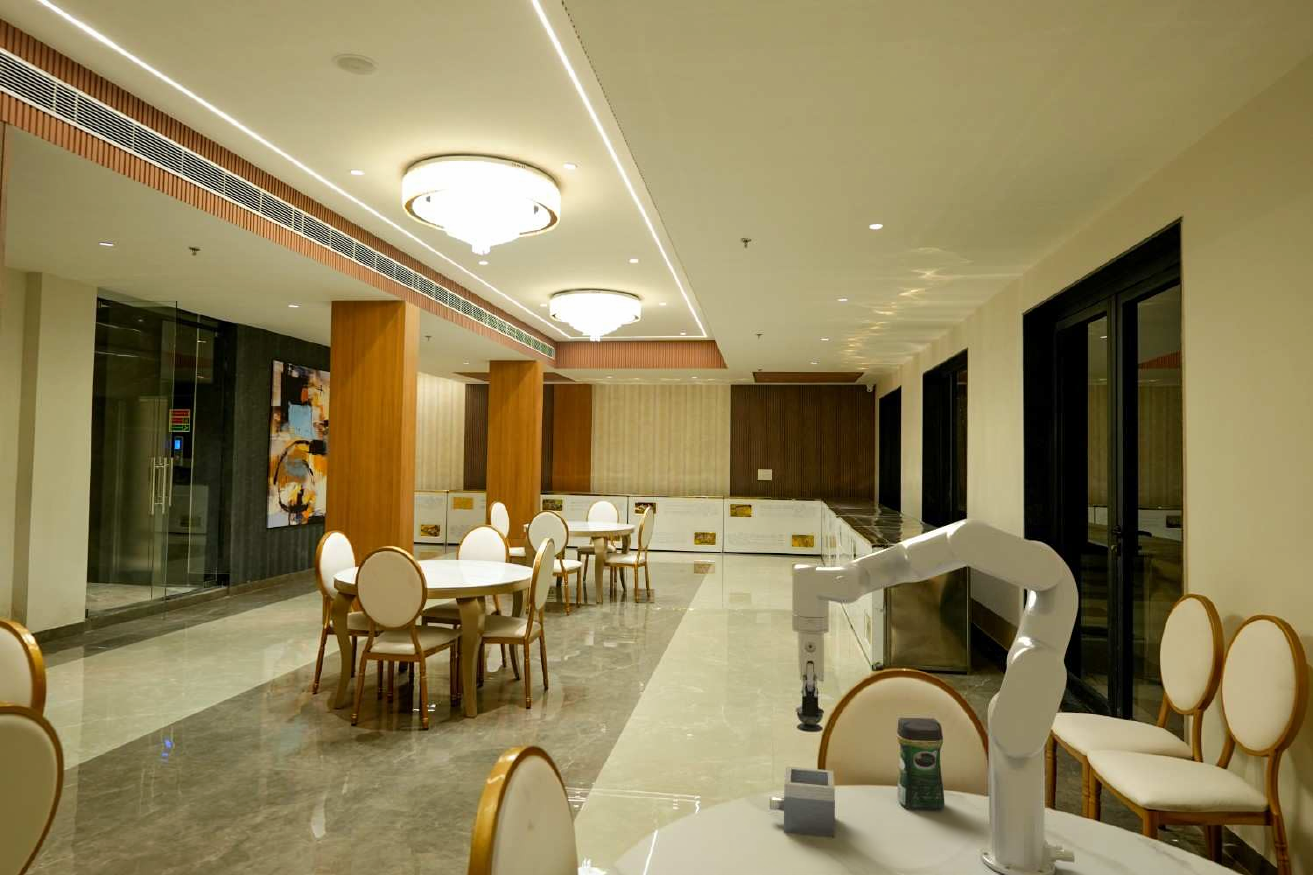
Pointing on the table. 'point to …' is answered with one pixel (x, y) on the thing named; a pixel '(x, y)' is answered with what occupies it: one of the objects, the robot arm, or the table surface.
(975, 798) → the table surface
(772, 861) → the table surface
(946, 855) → the table surface
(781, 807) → the grey open box
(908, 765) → the coffee jar
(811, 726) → the dark grey turned piece
